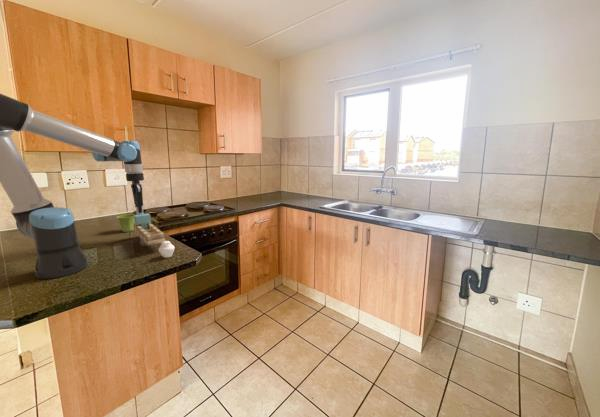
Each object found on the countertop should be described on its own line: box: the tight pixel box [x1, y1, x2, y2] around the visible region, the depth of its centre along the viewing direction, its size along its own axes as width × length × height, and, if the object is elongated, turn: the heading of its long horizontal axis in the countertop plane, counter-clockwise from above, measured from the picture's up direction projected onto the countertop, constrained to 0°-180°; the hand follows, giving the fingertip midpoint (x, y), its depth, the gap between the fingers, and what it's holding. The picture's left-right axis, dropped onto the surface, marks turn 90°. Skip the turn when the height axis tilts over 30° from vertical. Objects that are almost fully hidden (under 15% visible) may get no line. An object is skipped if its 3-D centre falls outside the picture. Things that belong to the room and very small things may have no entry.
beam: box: [133, 222, 166, 248], centre depth 128 cm, size 32×7×8 cm, turn 41°
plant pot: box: [116, 213, 136, 233], centre depth 151 cm, size 9×9×9 cm
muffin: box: [158, 240, 175, 259], centre depth 112 cm, size 6×6×7 cm
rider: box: [134, 212, 152, 229], centre depth 134 cm, size 5×6×7 cm
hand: (140, 218), depth 136 cm, fingers closed
